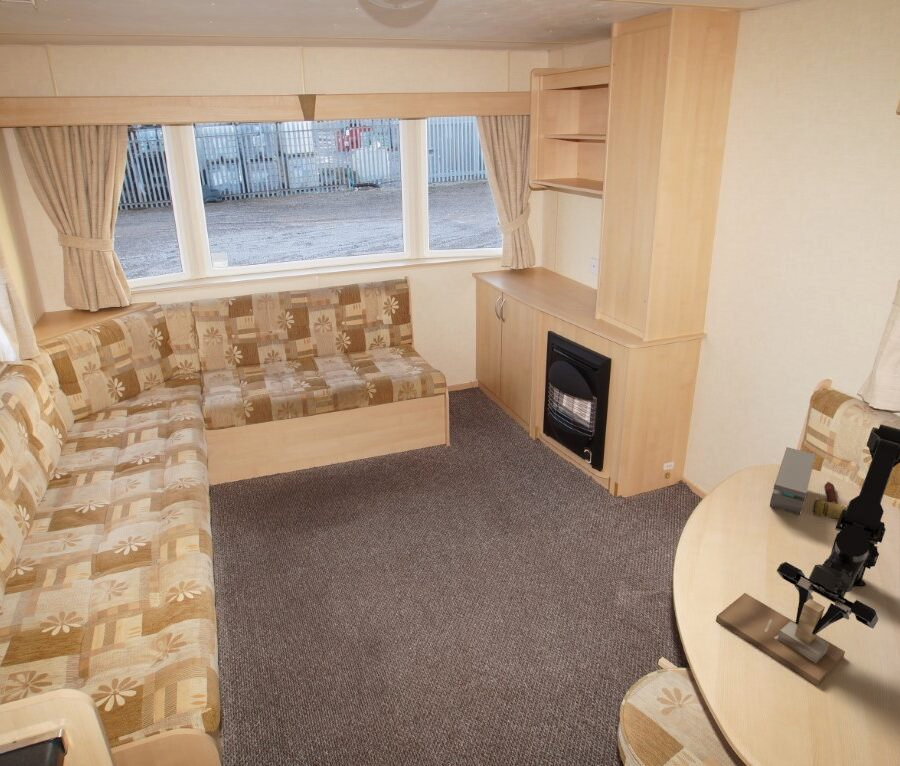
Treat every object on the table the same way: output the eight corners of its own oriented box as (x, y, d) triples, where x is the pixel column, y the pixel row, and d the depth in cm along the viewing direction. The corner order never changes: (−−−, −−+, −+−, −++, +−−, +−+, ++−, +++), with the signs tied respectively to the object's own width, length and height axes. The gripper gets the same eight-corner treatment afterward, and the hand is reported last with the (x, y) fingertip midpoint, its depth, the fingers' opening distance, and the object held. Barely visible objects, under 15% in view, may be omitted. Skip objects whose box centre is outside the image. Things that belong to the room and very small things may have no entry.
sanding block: (777, 639, 137) (789, 598, 132) (788, 629, 139) (800, 589, 135) (815, 663, 131) (829, 622, 127) (826, 653, 134) (840, 612, 129)
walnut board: (715, 620, 144) (716, 615, 143) (743, 597, 150) (744, 592, 150) (817, 686, 128) (819, 680, 127) (843, 656, 135) (845, 651, 134)
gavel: (811, 471, 198) (848, 479, 194) (808, 485, 199) (844, 492, 196) (817, 503, 180) (858, 512, 176) (813, 517, 181) (853, 526, 178)
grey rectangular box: (796, 527, 176) (806, 493, 172) (765, 517, 180) (774, 484, 176) (806, 485, 196) (815, 454, 191) (778, 477, 200) (786, 447, 195)
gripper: (791, 529, 135) (752, 593, 133) (889, 578, 122) (847, 649, 120) (800, 546, 143) (764, 606, 141) (894, 594, 129) (854, 661, 128)
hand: (804, 629), depth 132 cm, fingers closed on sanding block, 3 cm apart
